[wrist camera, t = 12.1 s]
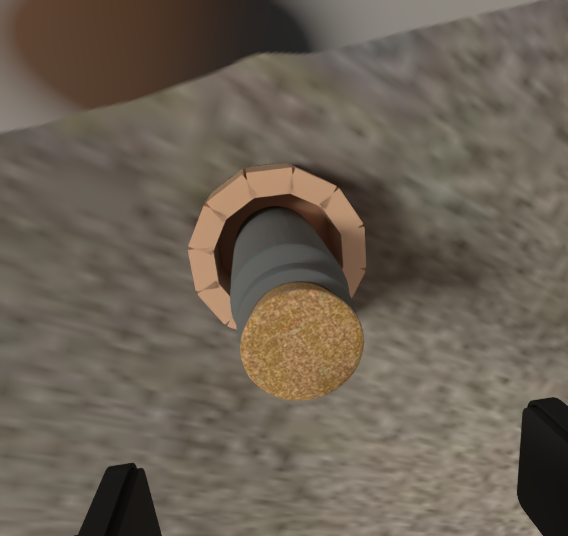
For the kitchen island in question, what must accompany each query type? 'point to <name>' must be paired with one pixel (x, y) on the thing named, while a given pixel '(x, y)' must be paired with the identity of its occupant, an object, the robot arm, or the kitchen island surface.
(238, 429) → the kitchen island surface
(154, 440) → the kitchen island surface
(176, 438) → the kitchen island surface
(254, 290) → the bottle
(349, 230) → the segmented wooden bowl
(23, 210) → the kitchen island surface
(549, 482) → the robot arm
